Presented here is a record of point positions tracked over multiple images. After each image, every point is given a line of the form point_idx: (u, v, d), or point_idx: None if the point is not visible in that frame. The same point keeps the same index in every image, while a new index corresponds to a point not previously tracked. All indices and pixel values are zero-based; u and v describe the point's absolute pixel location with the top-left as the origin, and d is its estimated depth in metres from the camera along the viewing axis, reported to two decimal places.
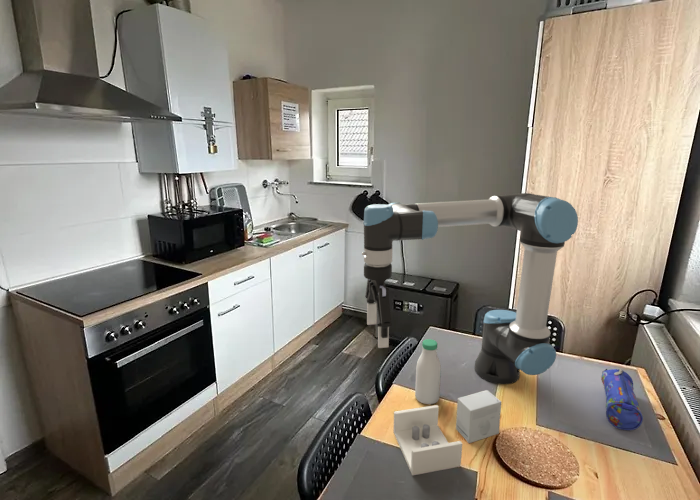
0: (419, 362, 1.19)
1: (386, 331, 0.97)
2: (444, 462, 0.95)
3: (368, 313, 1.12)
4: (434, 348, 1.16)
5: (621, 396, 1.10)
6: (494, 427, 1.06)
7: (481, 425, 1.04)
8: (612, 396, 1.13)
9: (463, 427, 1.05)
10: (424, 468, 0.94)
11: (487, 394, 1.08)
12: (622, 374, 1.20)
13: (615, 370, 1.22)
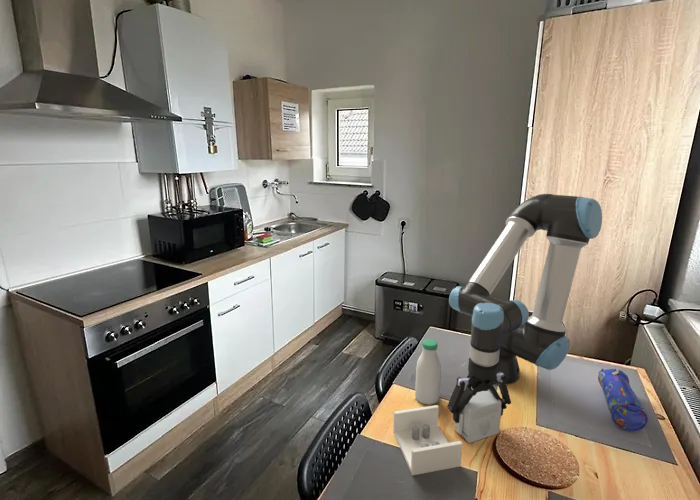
0: (419, 362, 1.19)
1: (455, 416, 1.05)
2: (444, 462, 0.95)
3: None
4: (434, 348, 1.16)
5: (625, 397, 1.09)
6: (494, 427, 1.06)
7: (481, 425, 1.04)
8: (615, 397, 1.12)
9: (463, 427, 1.05)
10: (424, 468, 0.94)
11: (487, 394, 1.08)
12: (619, 373, 1.20)
13: (612, 370, 1.22)
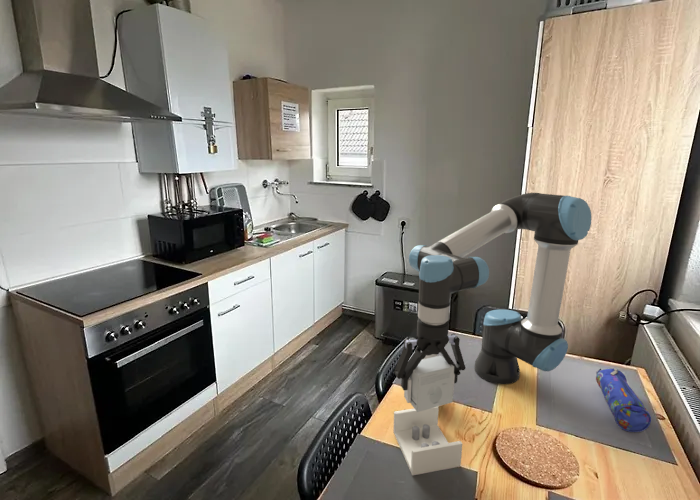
0: None
1: (402, 383, 0.95)
2: (444, 462, 0.95)
3: None
4: None
5: (627, 397, 1.09)
6: (446, 395, 0.96)
7: (431, 392, 0.94)
8: (617, 398, 1.12)
9: (412, 395, 0.95)
10: (424, 468, 0.94)
11: (440, 359, 0.98)
12: (618, 373, 1.20)
13: (610, 370, 1.22)
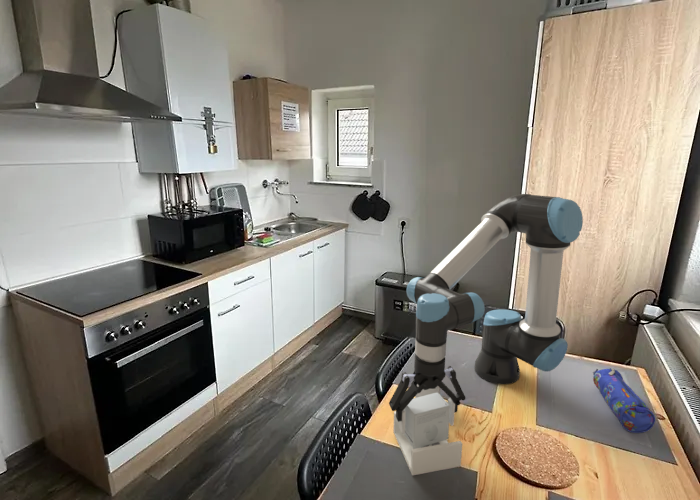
0: None
1: (397, 414, 0.97)
2: (444, 462, 0.95)
3: None
4: None
5: (630, 398, 1.09)
6: (442, 432, 0.99)
7: (427, 430, 0.97)
8: (619, 399, 1.11)
9: (409, 432, 0.98)
10: (424, 468, 0.94)
11: (436, 397, 1.01)
12: (615, 373, 1.21)
13: (608, 370, 1.22)
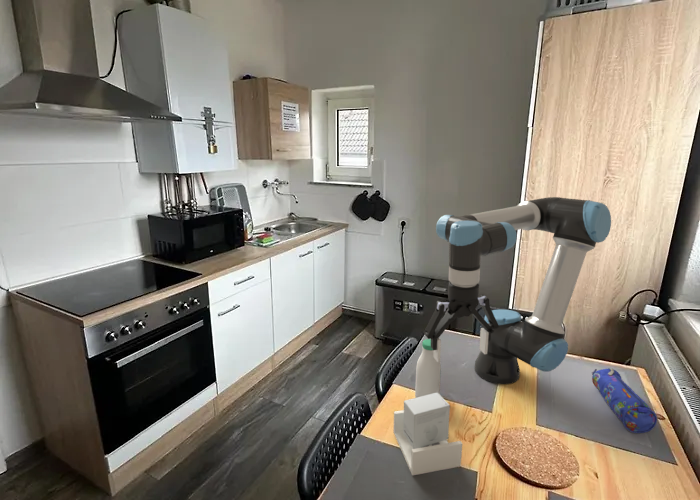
0: (419, 362, 1.19)
1: (432, 343, 0.99)
2: (444, 462, 0.95)
3: (480, 337, 1.03)
4: None
5: (631, 398, 1.09)
6: (442, 432, 0.99)
7: (427, 430, 0.97)
8: (620, 400, 1.11)
9: (409, 432, 0.98)
10: (424, 468, 0.94)
11: (436, 397, 1.01)
12: (614, 373, 1.21)
13: (606, 370, 1.22)
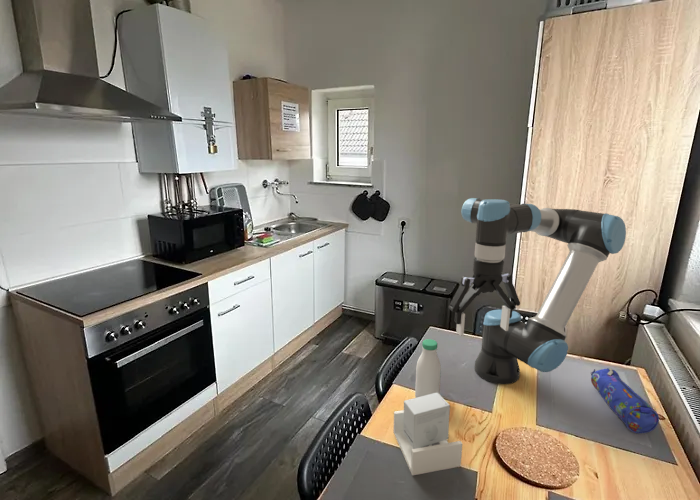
0: (419, 362, 1.19)
1: (456, 317, 1.03)
2: (444, 462, 0.95)
3: (502, 315, 1.07)
4: (434, 348, 1.16)
5: (633, 399, 1.09)
6: (442, 432, 0.99)
7: (427, 430, 0.97)
8: (622, 400, 1.11)
9: (409, 432, 0.98)
10: (424, 468, 0.94)
11: (436, 397, 1.01)
12: (613, 373, 1.21)
13: (606, 370, 1.22)
